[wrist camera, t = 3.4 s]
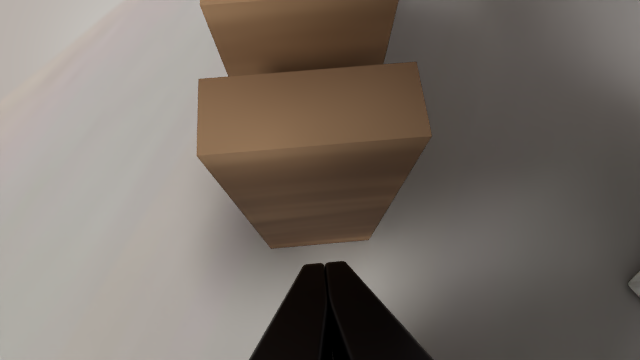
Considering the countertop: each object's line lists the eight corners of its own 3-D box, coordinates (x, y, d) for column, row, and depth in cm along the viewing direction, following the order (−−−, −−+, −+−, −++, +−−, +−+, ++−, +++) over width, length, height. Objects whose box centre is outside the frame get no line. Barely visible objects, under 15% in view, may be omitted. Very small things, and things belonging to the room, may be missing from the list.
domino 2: (358, 166, 17) (401, -11, 8) (267, 174, 17) (199, 5, 8) (354, 135, 18) (389, -65, 8) (266, 142, 18) (201, -51, 8)
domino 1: (368, 239, 16) (432, 135, 7) (271, 248, 16) (196, 155, 7) (363, 204, 17) (416, 61, 7) (269, 212, 17) (198, 78, 7)
